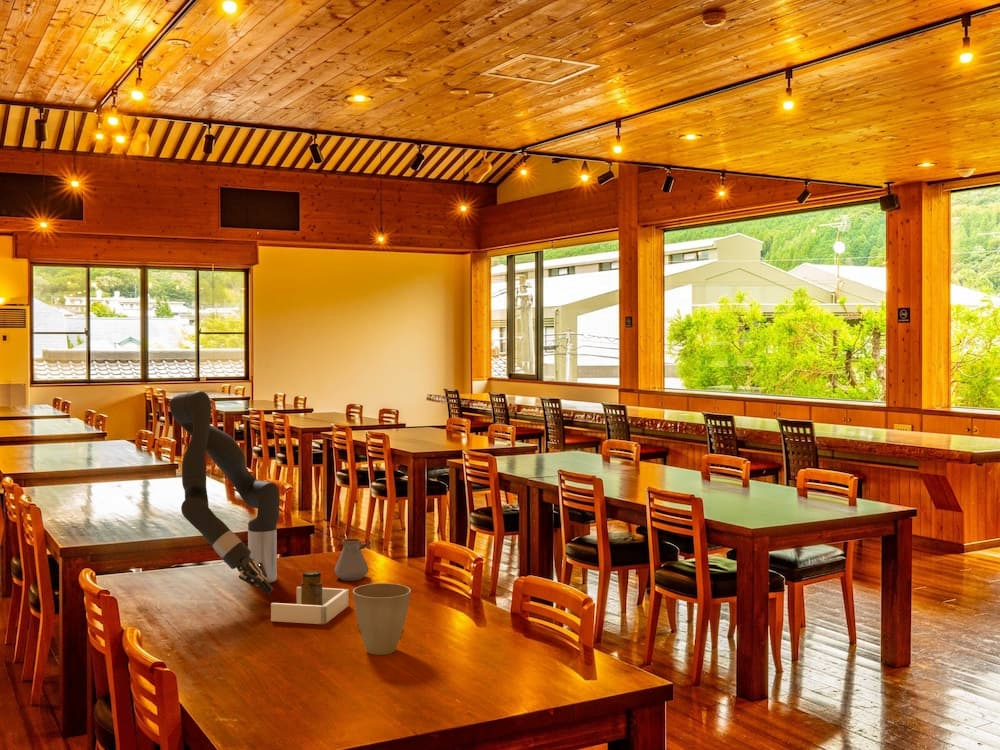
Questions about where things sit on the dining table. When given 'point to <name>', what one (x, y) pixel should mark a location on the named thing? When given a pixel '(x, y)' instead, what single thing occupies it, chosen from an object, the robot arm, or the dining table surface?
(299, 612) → the caddy
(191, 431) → the robot arm
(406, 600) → the plant pot
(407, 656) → the dining table surface
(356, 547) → the coffee pot
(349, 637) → the dining table surface
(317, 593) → the condiment
